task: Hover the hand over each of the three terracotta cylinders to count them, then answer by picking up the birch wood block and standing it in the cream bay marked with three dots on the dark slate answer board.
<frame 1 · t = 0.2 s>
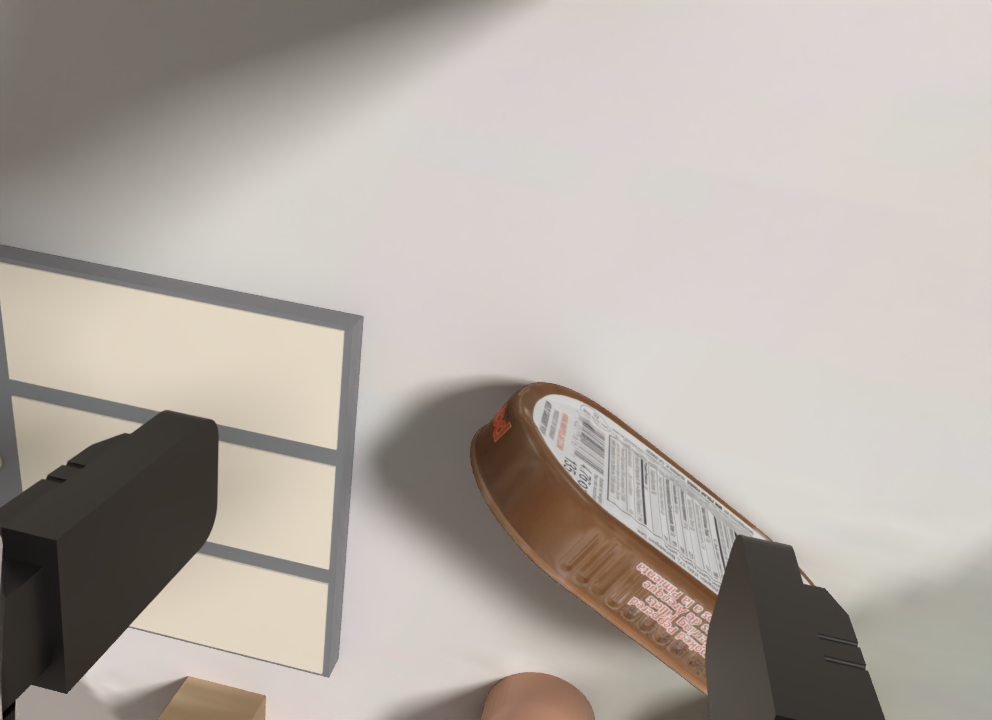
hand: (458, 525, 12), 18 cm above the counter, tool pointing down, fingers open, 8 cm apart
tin: (668, 483, 32), on the counter
cylinder a: (539, 715, 37), on the counter
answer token: (226, 715, 41), on the counter
answer board: (161, 462, 35), on the counter
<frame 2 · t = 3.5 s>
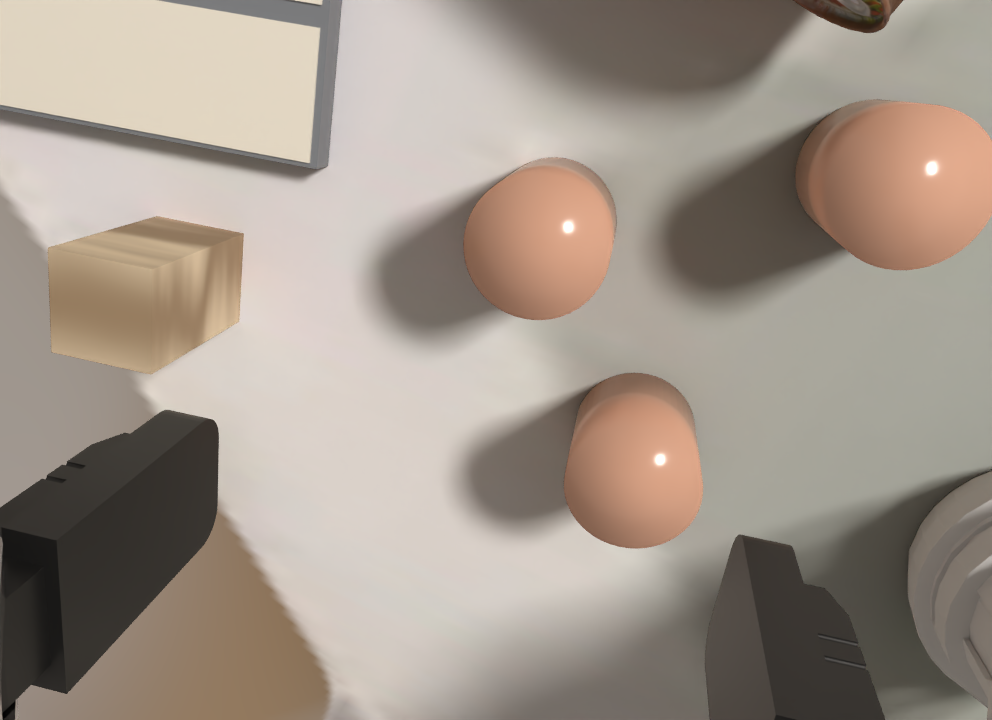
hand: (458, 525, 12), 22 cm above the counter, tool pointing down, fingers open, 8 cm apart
cylinder b: (634, 427, 35), on the counter
cylinder a: (553, 221, 33), on the counter
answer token: (198, 269, 36), on the counter
cylinder c: (866, 170, 30), on the counter
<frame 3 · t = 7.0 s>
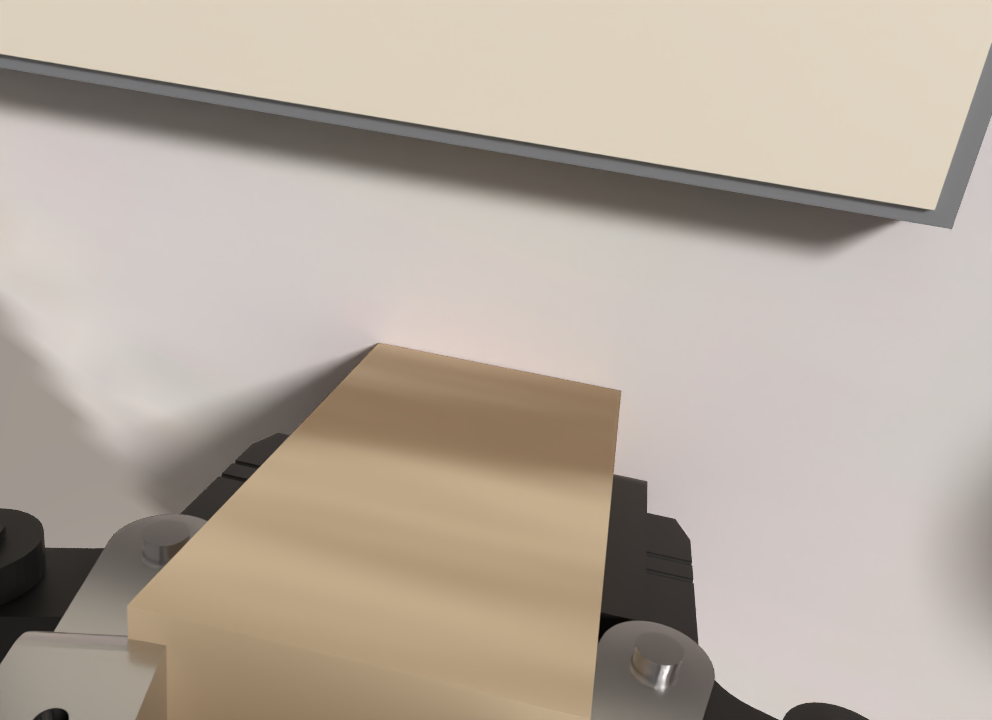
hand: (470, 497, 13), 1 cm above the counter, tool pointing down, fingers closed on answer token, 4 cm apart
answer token: (481, 474, 14), on the counter, touching gripper
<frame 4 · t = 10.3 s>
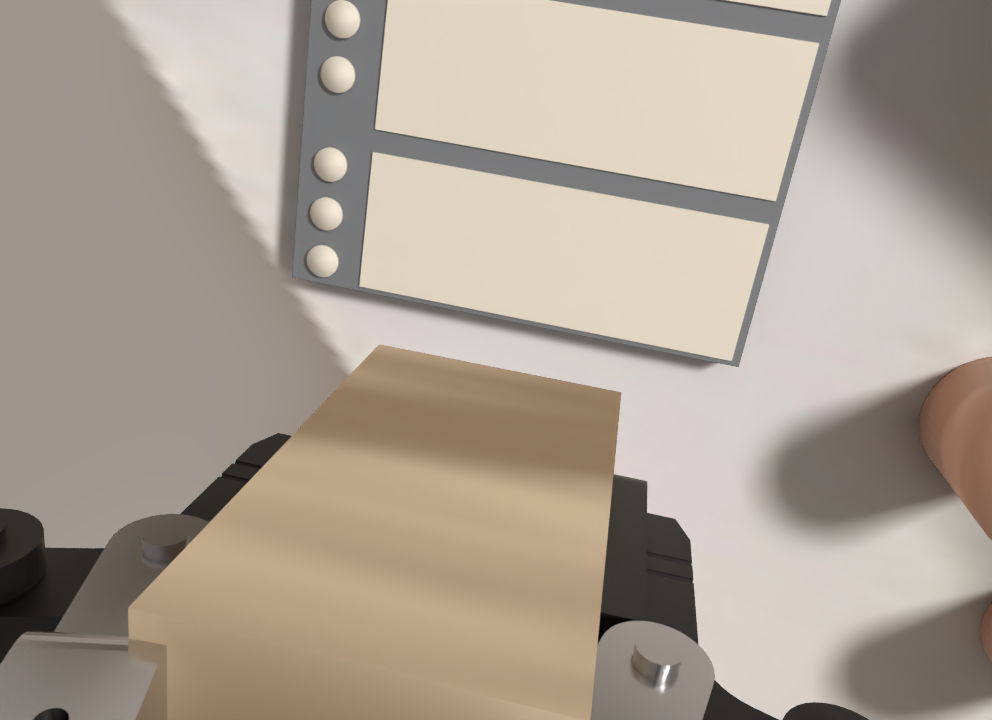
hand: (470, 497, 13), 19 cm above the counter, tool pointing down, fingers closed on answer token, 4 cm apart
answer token: (481, 475, 14), point 18 cm above the counter, touching gripper
answer board: (552, 82, 29), on the counter
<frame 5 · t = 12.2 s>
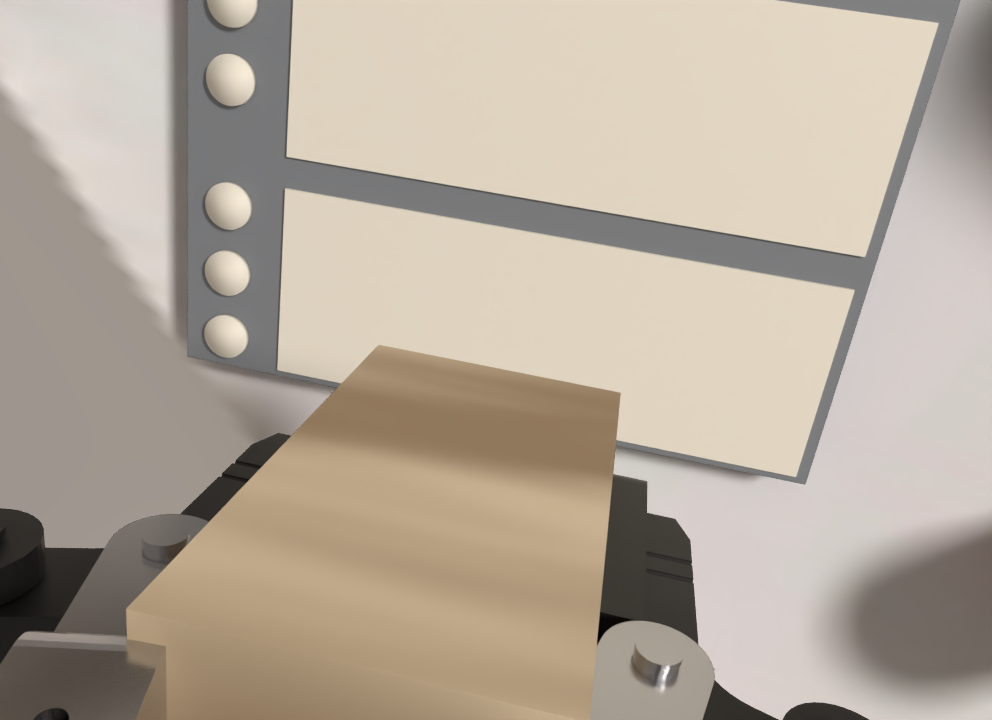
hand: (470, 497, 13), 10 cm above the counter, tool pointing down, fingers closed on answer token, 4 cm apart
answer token: (481, 476, 14), point 9 cm above the counter, touching gripper
answer board: (537, 85, 20), on the counter
when the fingers open (3 cm above the counter, at t = 13.8 s): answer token stays where it is, resting on answer board.
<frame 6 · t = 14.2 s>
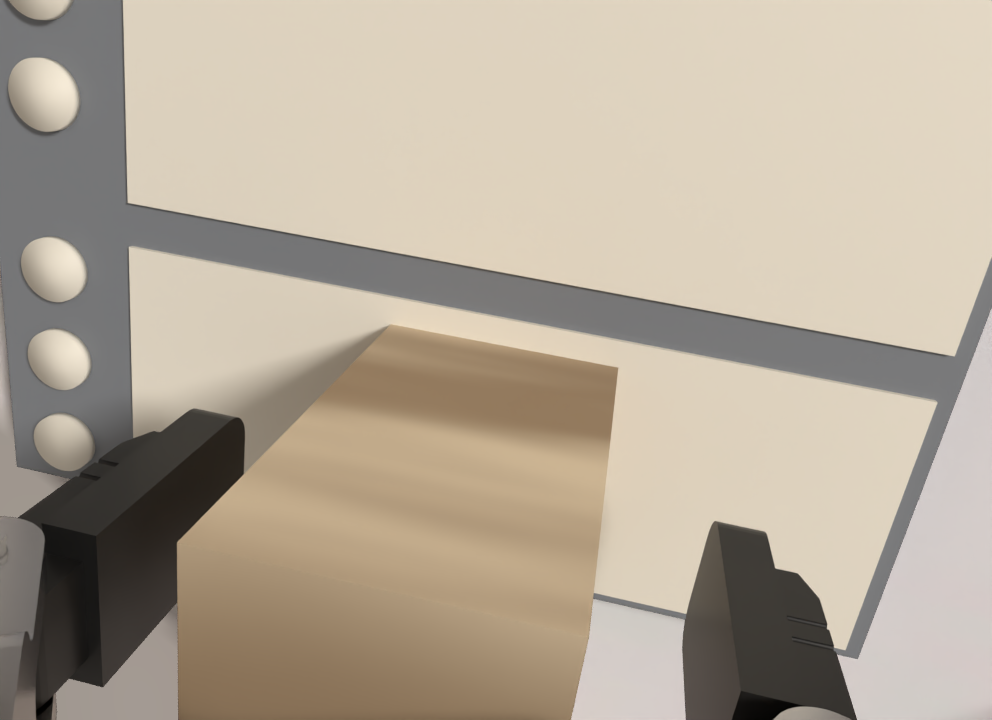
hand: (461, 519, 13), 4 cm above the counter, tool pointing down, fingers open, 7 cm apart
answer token: (487, 448, 15), point 1 cm above the counter, touching answer board
answer board: (481, 104, 14), on the counter
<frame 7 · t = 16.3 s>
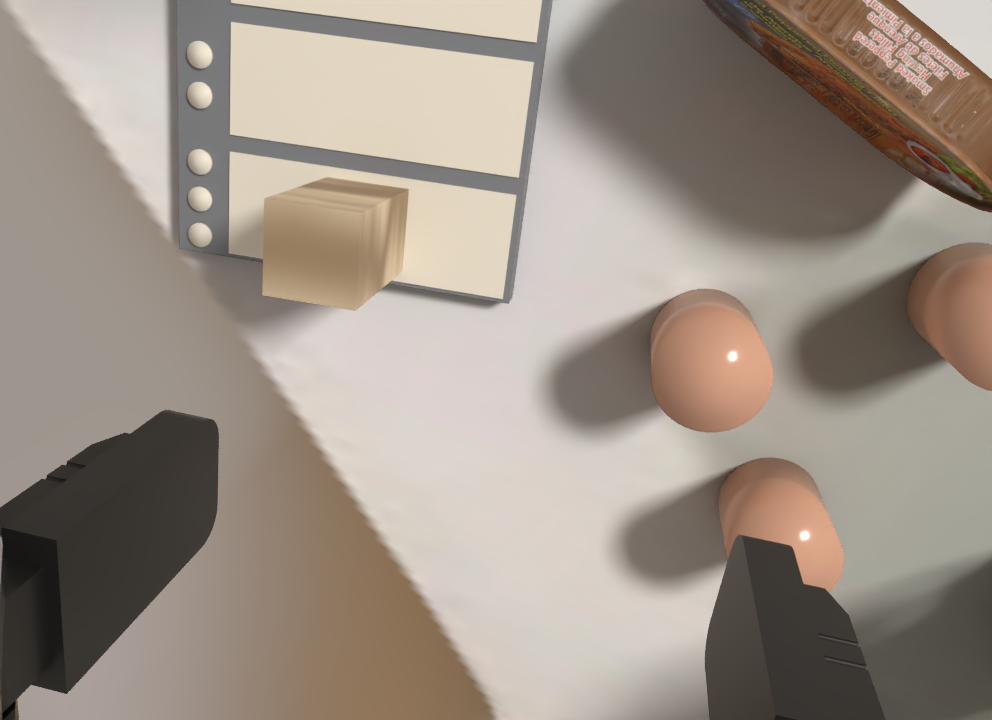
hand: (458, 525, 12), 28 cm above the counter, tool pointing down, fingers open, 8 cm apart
cylinder b: (768, 501, 42), on the counter
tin: (836, 64, 35), on the counter
cylinder a: (702, 338, 40), on the counter
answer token: (365, 224, 40), point 1 cm above the counter, touching answer board
cylinder c: (966, 297, 37), on the counter
answer board: (358, 95, 39), on the counter
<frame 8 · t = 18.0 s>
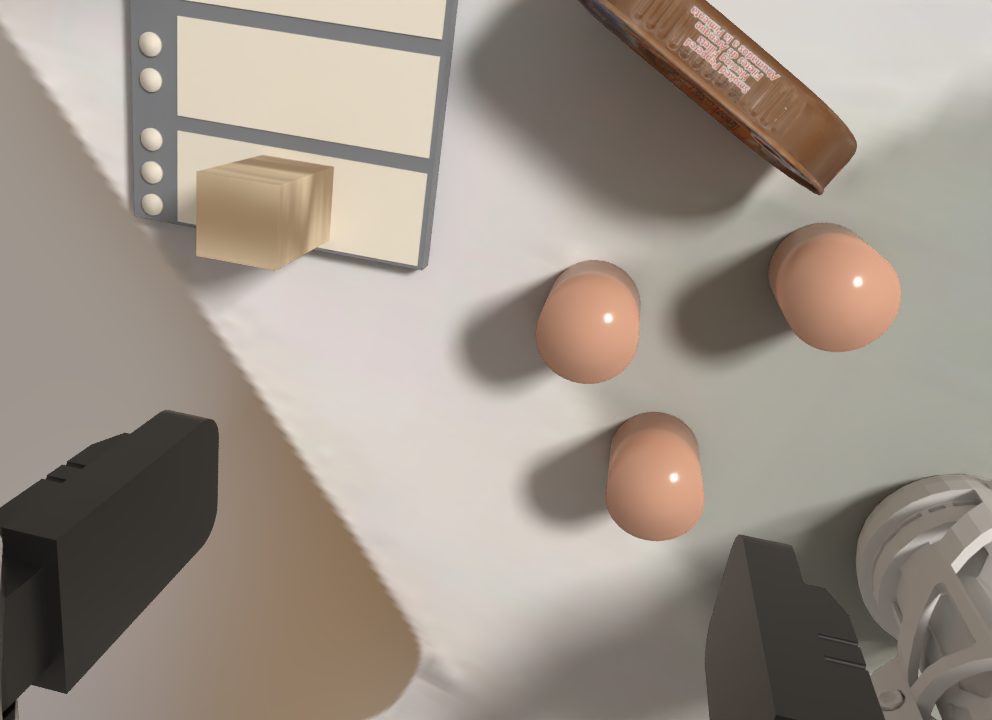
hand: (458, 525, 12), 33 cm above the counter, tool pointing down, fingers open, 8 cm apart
cylinder b: (654, 451, 48), on the counter
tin: (703, 63, 40), on the counter
cylinder a: (594, 304, 45), on the counter
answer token: (296, 197, 45), point 1 cm above the counter, touching answer board
cylinder c: (819, 271, 42), on the counter
answer board: (291, 82, 44), on the counter
lantern: (922, 554, 47), on the counter
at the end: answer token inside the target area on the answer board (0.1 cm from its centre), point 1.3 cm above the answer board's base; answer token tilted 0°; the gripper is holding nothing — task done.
